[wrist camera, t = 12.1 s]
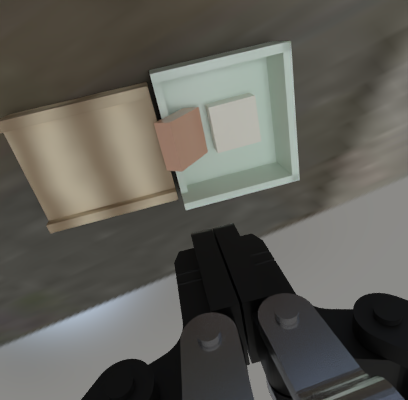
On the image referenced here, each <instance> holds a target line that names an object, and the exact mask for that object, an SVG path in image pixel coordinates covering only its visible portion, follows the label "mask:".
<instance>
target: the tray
mask: <svg viewBox="0 0 408 400" xmlns="http://www.w3.org/2000/svg"><path fill="white" fill-rule="evenodd" d="M149 74H150V77H151V81H152V85H153V89H154V93H155V96H156V100H157V104H158V108H159V111H160V115H161V119H163V118H165V117H167V116H169V115H171V114H172V113H174V112H176V111H178V110H180V109H182V108H190V107H199V111H200V116H201V121H202V126H203V131H204V136H205V140H206V145H207V150H208V152H207V153H206V154H205V155H203V156H202V157H201V158H200V159H198V160H197V161H196V162H194V163H193V164H192V165H190V166H189V167H188V168H186V169H185V170H184V171H182V172H181V171H176V175H177V179H178V183H179V186H180V190H181V194H182V198H183V201H184V205H185V209H186V210H189V209H193V208H197V207H201V206H204V205H208V204H212V203H215V202H219V201H223V200H227V199H230V198H234V197H238V196H242V195H245V194H249V193H253V192H257V191H260V190H264V189H268V188H272V187H275V186H279V185H283V184H287V183H290V182H294V181H298V180H300V178H299V162H298V146H297V130H296V114H295V98H294V82H293V66H292V50H291V41H271V42H266V43H262V44H258V45H254V46H250V47H245V48H241V49H237V50H233V51H228V52H224V53H220V54H216V55H211V56H207V57H203V58H199V59H194V60H190V61H186V62H182V63H177V64H173V65H169V66H165V67H160V68H156V69H152V70H149ZM246 93H251V94H253V95H255V99H256V106H257V113H258V120H259V128H260V135H261V142H257V143H253V144H250V145H246V146H243V147H239V148H235V149H232V150H228V151H224V152H221V153H217V151H216V150H215V148H214V145H213V140H212V135H211V131H210V126H209V121H208V117H207V112H206V107H205V104H209V103H213V102H216V101H220V100H224V99H228V98H231V97H235V96H239V95H243V94H246Z"/></svg>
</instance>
